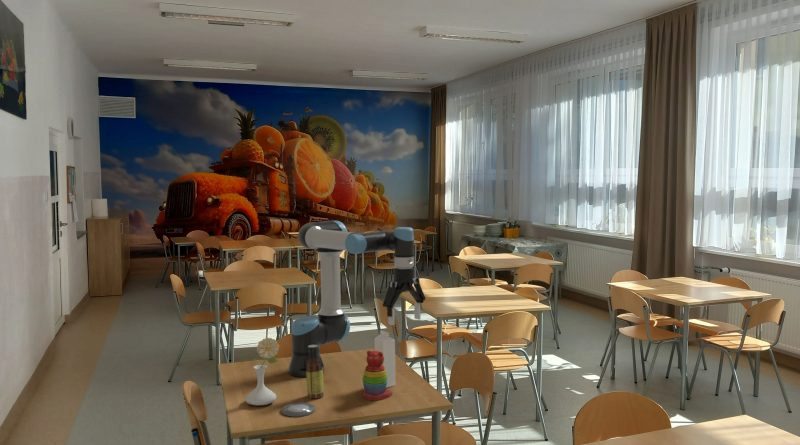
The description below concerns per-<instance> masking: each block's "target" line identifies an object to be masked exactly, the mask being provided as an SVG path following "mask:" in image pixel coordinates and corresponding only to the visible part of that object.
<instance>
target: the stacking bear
mask: <svg viewBox="0 0 800 445" xmlns="http://www.w3.org/2000/svg"><path fill="white" fill-rule="evenodd" d="M383 361H384V356H383V353H382V352H379V351H375V350H372V351H371V350H367V351H366V363H367V365H365V369H364V371H363V375H362V385H363V389H364V390H363V398H365V400H369V401H380V400H385V399H388V398H390V397H392V396H393V392H392V390H390V389H387V388H386V386H387V375H386V370H385V367H384V366H383V365H382V364H383Z"/></svg>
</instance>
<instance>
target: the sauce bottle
mask: <svg viewBox="0 0 800 445" xmlns="http://www.w3.org/2000/svg"><path fill="white" fill-rule="evenodd" d="M308 354H309V356H308V357H309V358H308V361H307V363H306V376H307V377H306V388H307V389H306V391H307V392H306V393H307V397H308V398H309V399H321V398H322V397H323V396H324V375H323V374H324V372H323V371H322V365H321V362H320V359H319V355H318V345H309V346H308Z"/></svg>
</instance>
